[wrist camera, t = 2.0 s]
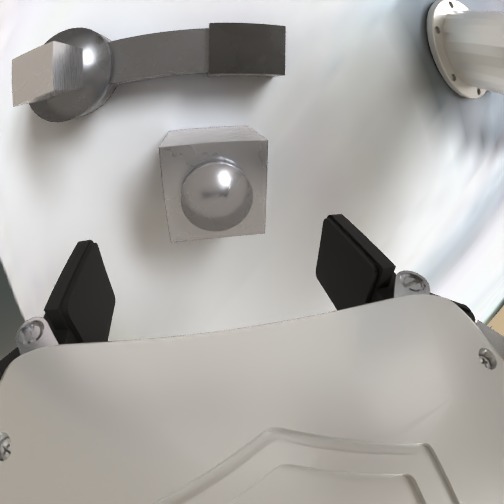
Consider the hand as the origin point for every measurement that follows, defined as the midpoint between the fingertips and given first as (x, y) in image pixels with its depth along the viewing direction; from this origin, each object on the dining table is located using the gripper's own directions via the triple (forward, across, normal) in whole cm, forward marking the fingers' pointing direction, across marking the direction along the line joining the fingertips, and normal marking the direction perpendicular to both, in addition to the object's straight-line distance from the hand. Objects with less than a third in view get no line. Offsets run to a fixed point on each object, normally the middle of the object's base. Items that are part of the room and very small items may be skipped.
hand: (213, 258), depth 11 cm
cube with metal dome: (+12, -1, 0) cm, 13 cm away
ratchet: (+12, +3, -9) cm, 16 cm away
